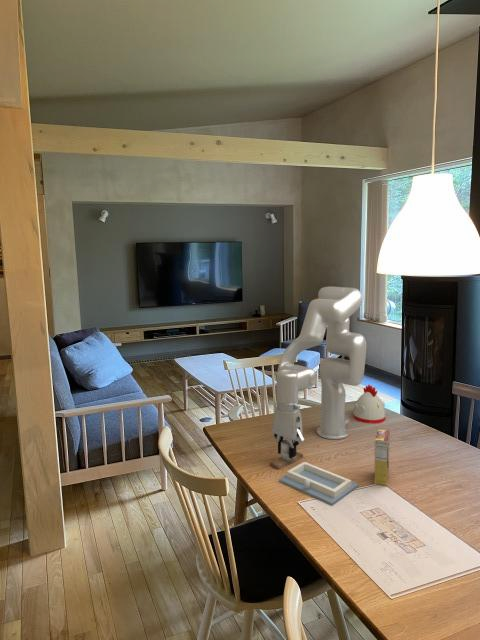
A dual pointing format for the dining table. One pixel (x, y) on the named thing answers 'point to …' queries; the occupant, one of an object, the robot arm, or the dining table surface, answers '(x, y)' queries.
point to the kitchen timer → (369, 407)
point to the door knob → (285, 456)
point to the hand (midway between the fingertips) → (286, 454)
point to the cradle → (318, 483)
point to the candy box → (381, 457)
